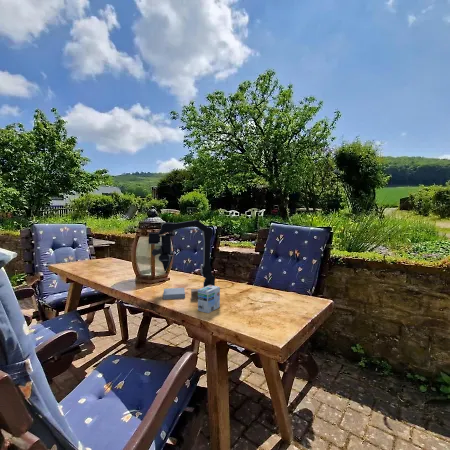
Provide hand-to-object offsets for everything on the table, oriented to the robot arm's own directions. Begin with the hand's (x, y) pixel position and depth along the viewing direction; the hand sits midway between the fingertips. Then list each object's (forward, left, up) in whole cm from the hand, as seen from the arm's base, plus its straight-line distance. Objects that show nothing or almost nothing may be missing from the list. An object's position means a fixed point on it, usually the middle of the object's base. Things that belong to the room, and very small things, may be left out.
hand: (166, 269), depth 157 cm
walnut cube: (-16, +15, -14) cm, 26 cm away
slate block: (-4, +7, -15) cm, 17 cm away
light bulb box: (-21, +32, -14) cm, 41 cm away
